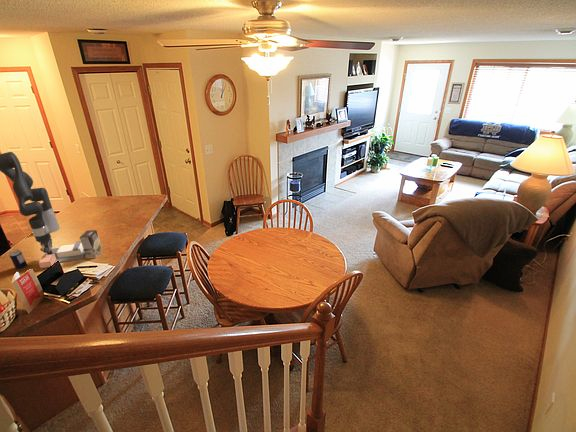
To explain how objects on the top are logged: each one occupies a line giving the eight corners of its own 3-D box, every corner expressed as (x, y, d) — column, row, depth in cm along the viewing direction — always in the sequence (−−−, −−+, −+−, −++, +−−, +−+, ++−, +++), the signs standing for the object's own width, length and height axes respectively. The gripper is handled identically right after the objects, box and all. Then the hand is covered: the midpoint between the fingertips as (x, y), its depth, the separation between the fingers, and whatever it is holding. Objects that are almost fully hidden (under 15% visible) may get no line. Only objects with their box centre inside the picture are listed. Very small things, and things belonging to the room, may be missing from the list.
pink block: (45, 260, 191) (42, 255, 189) (56, 259, 192) (54, 253, 191) (40, 268, 184) (38, 262, 182) (52, 266, 186) (50, 260, 184)
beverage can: (25, 263, 189) (18, 248, 184) (29, 267, 186) (22, 251, 181) (14, 268, 185) (6, 252, 179) (18, 271, 182) (10, 255, 177)
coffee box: (96, 258, 196) (89, 237, 189) (86, 258, 196) (78, 237, 188) (103, 250, 204) (96, 229, 197) (93, 250, 204) (86, 230, 196)
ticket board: (48, 250, 202) (45, 242, 200) (89, 244, 210) (86, 237, 207) (39, 266, 188) (35, 258, 185) (83, 259, 195) (80, 251, 192)
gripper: (37, 228, 188) (47, 251, 196) (29, 239, 177) (40, 262, 186) (51, 226, 191) (60, 249, 199) (44, 237, 180) (54, 260, 188)
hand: (50, 255), depth 192 cm, fingers closed
